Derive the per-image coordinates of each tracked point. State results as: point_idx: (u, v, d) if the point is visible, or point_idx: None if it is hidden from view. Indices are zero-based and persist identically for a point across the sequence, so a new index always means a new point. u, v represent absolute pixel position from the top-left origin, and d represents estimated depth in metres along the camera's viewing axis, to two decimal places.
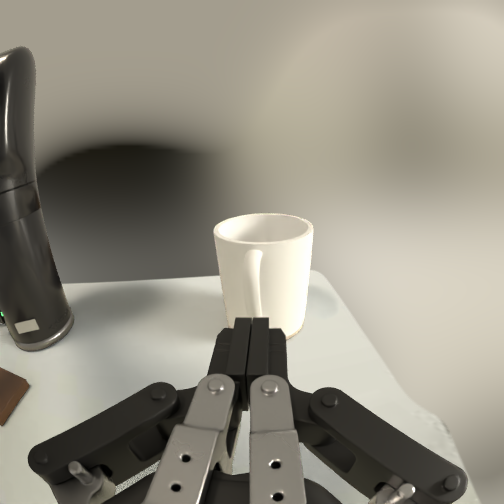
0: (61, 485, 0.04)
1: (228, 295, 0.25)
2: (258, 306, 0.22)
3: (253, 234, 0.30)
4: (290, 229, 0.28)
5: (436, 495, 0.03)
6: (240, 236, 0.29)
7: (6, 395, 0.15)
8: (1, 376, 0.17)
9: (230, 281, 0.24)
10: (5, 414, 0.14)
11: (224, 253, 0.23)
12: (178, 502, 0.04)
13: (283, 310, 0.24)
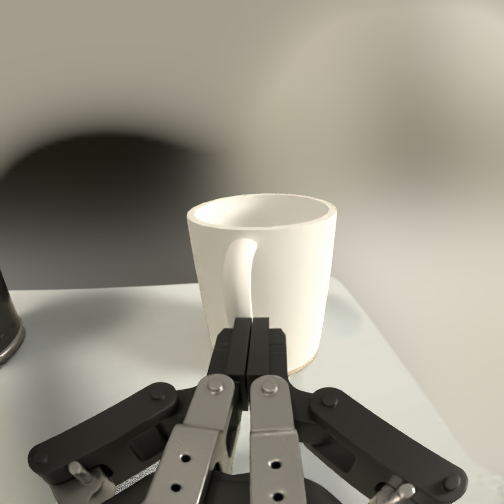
0: (61, 485, 0.04)
1: (209, 309, 0.17)
2: None
3: (249, 222, 0.21)
4: (301, 214, 0.20)
5: (436, 495, 0.03)
6: (231, 225, 0.21)
7: None
8: None
9: (209, 289, 0.16)
10: None
11: (199, 246, 0.15)
12: (178, 502, 0.04)
13: (291, 334, 0.16)
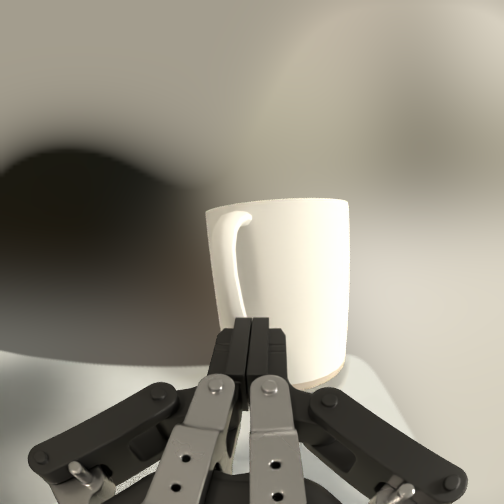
0: (61, 485, 0.04)
1: (218, 304, 0.17)
2: (236, 302, 0.12)
3: None
4: None
5: (436, 495, 0.03)
6: None
7: None
8: None
9: None
10: None
11: (209, 232, 0.16)
12: (178, 502, 0.04)
13: (295, 329, 0.14)
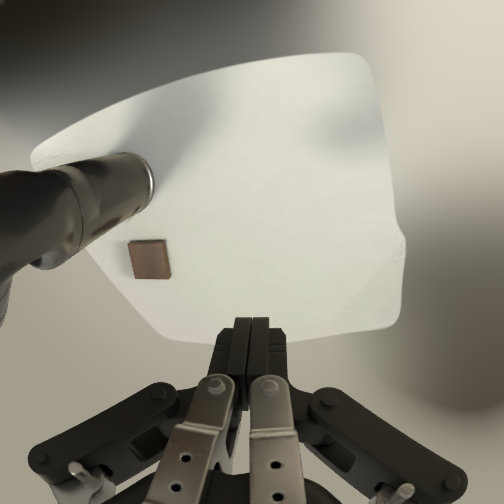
0: (61, 485, 0.04)
1: None
2: None
3: None
4: None
5: (436, 495, 0.03)
6: None
7: (160, 260, 0.41)
8: (141, 250, 0.40)
9: None
10: (168, 270, 0.42)
11: None
12: (178, 502, 0.04)
13: None
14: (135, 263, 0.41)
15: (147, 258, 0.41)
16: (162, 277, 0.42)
